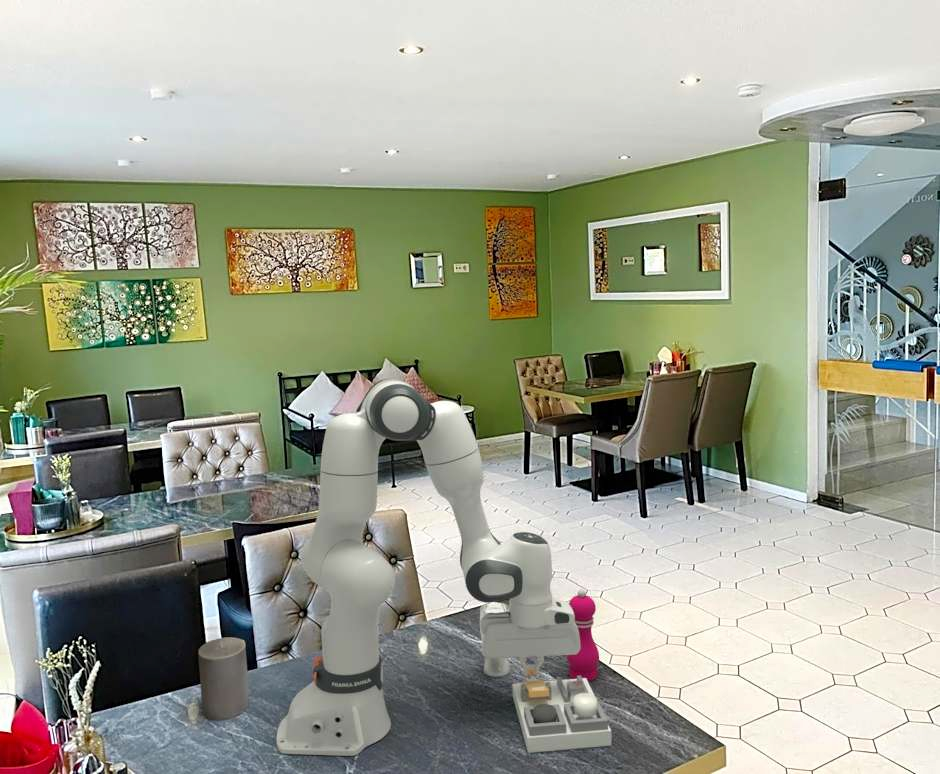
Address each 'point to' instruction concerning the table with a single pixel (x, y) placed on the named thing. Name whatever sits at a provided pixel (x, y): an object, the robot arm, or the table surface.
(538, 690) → the amber rocker
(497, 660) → the beer glass
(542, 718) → the black button
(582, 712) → the white button
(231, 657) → the pillar candle
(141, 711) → the table surface
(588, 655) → the pepper mill
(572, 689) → the metal slider knob
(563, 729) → the console
